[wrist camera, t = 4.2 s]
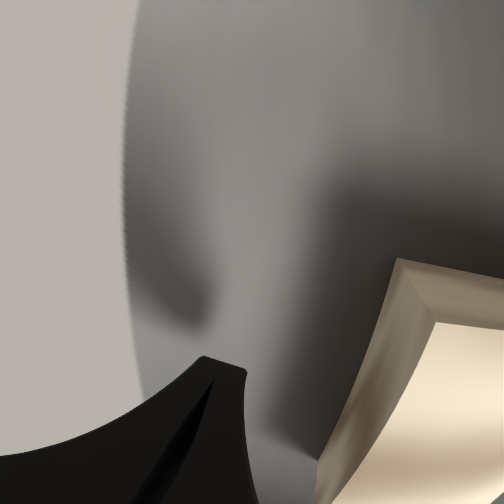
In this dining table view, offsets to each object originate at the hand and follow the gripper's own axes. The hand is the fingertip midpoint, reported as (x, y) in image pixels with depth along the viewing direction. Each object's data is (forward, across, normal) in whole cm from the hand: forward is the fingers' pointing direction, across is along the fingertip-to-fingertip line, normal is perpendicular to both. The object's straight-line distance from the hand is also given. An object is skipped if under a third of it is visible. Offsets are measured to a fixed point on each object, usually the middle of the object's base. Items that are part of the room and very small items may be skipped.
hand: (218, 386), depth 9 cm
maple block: (+2, -8, 0) cm, 9 cm away
